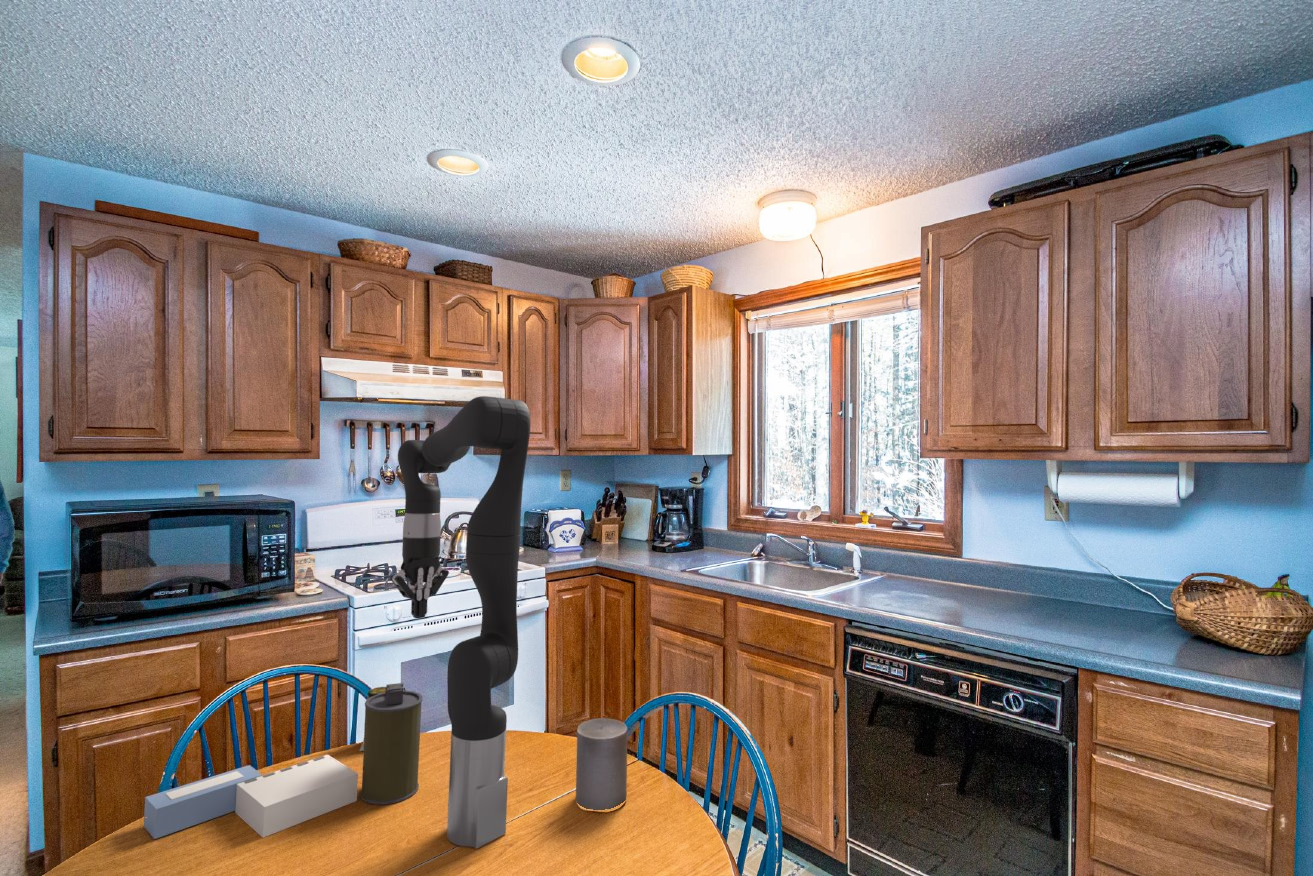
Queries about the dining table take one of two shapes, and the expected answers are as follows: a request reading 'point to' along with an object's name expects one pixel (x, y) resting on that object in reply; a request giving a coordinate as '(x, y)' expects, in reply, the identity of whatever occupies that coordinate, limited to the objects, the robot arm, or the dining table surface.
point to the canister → (391, 746)
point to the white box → (295, 794)
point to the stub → (194, 802)
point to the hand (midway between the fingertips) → (419, 617)
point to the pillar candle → (601, 764)
